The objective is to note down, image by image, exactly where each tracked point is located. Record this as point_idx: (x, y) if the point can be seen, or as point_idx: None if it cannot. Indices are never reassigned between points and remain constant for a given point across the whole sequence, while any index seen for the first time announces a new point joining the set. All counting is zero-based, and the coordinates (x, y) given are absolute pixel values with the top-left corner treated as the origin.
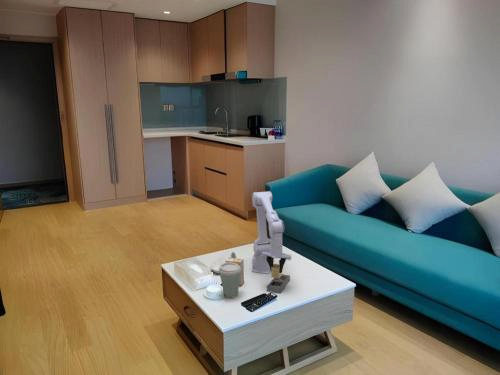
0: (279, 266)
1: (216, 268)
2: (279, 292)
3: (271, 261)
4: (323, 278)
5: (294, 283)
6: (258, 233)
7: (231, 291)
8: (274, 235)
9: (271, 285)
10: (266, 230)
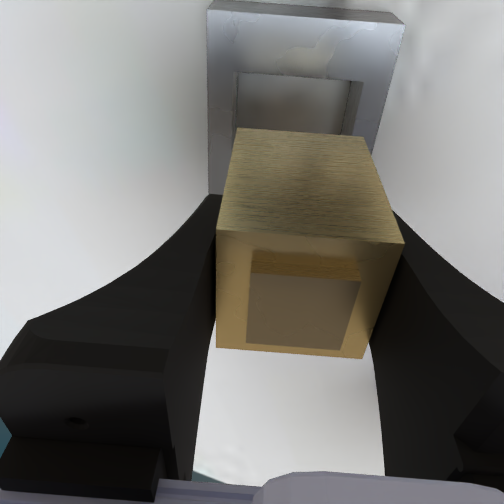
0: (235, 294)
1: None
2: (227, 2)
3: (436, 367)
4: (7, 341)
5: (159, 244)
6: None
7: None
8: None
9: (345, 78)
10: None
